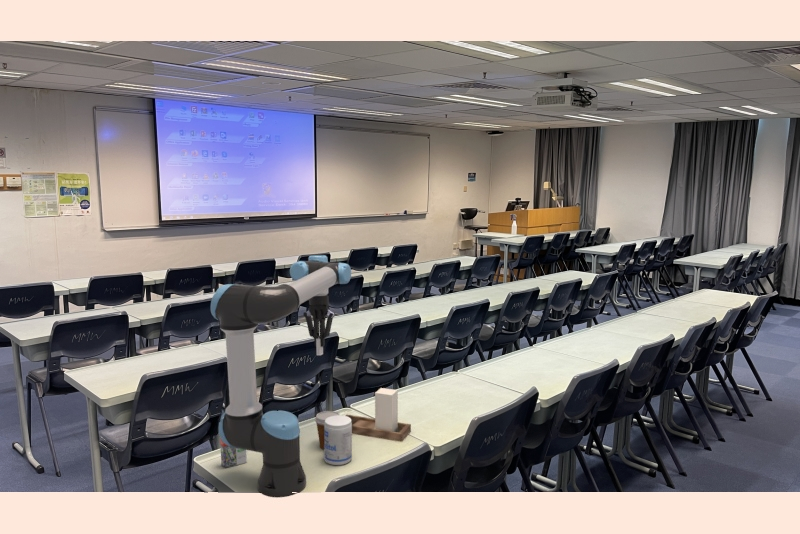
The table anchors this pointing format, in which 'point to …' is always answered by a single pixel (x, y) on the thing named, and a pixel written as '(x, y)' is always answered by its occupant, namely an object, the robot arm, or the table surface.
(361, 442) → the table surface
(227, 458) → the ink box
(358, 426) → the trap track
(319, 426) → the disposable coffee cup
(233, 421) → the robot arm
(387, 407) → the block
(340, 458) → the supplement tub
